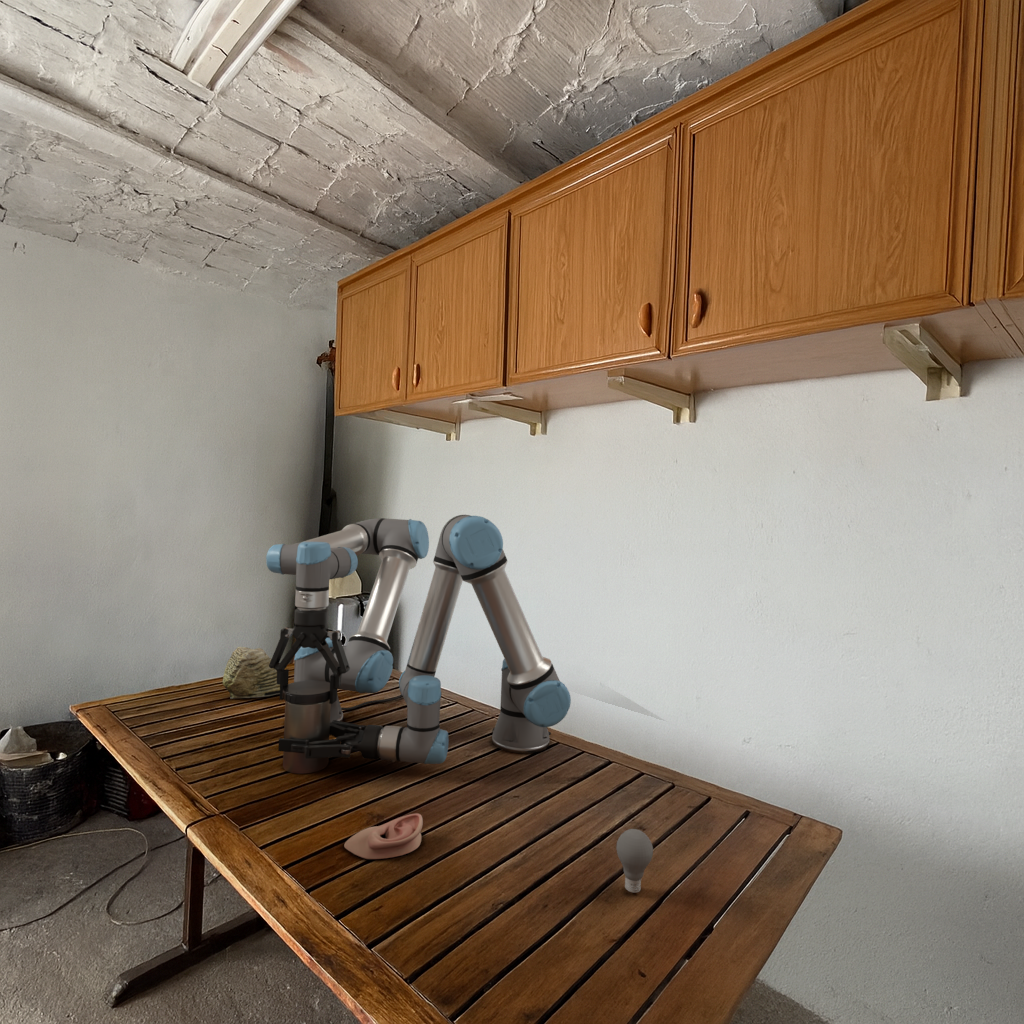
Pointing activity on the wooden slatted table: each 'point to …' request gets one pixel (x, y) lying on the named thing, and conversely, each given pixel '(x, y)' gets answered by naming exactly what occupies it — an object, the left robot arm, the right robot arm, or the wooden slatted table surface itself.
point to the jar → (306, 734)
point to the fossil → (250, 674)
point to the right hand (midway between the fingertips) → (289, 735)
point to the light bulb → (634, 857)
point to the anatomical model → (387, 838)
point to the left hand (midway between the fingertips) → (308, 700)
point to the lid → (306, 692)
